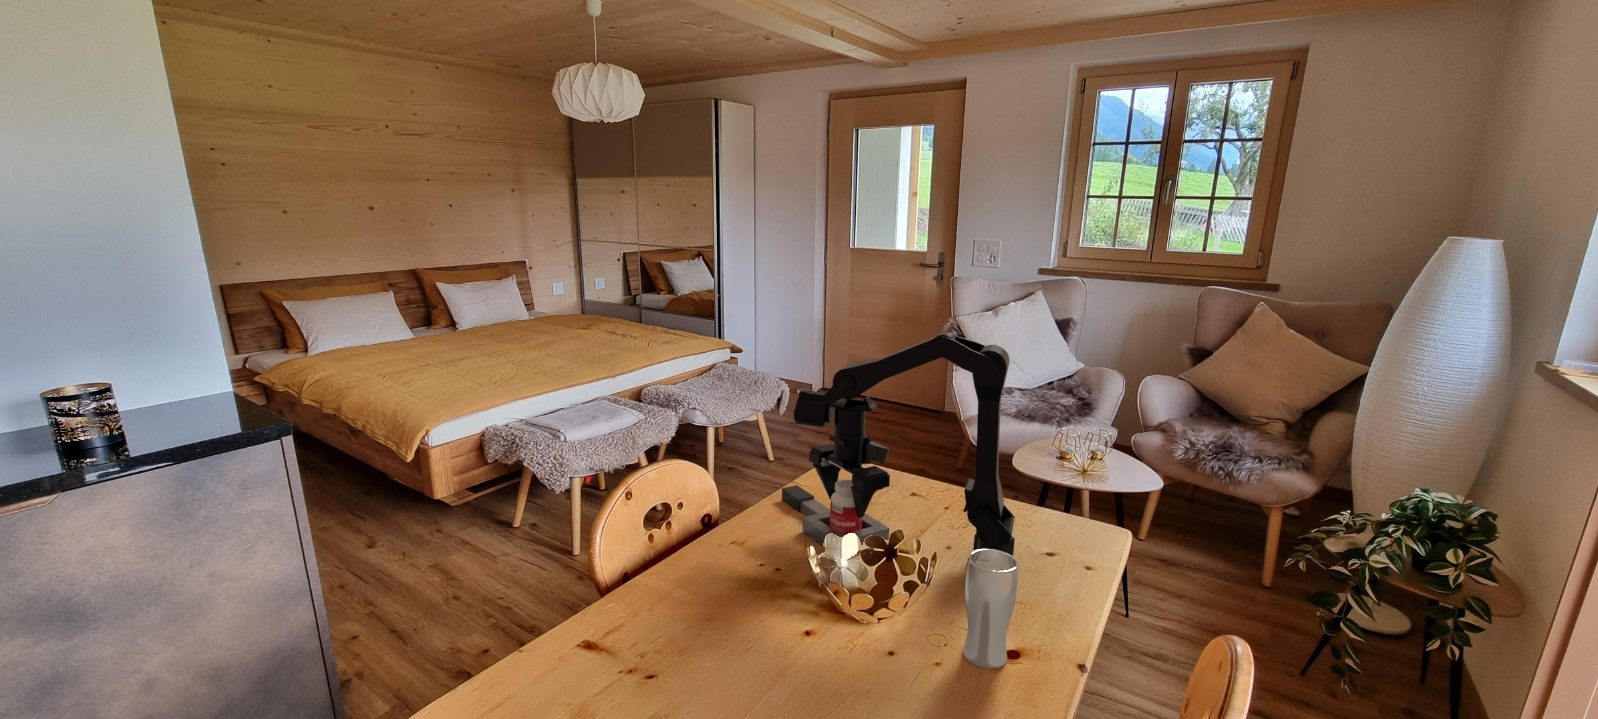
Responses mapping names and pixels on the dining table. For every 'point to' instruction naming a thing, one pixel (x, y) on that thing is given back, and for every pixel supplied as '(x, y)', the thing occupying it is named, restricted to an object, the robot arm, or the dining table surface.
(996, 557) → the beer glass
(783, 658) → the dining table surface
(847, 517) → the pill bottle
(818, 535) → the socket
